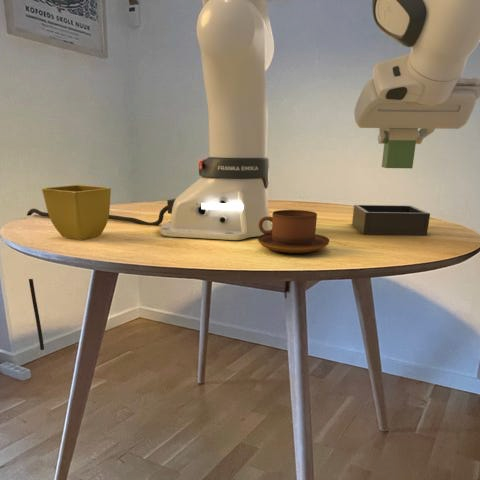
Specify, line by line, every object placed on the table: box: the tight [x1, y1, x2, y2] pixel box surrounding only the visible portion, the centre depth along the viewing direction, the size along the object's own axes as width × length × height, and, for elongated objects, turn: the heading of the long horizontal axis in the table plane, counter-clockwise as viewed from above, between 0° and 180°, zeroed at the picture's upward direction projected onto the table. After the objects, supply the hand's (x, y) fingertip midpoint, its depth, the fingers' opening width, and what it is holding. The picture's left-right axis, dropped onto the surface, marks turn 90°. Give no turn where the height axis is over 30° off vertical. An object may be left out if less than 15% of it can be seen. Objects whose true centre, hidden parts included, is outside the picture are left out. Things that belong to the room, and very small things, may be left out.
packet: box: [381, 128, 419, 169], centre depth 89 cm, size 5×4×9 cm
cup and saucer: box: [257, 209, 330, 254], centre depth 78 cm, size 12×12×6 cm
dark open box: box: [351, 204, 431, 236], centre depth 98 cm, size 13×12×4 cm
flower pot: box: [41, 184, 112, 241], centre depth 86 cm, size 9×9×9 cm
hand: (398, 141), depth 89 cm, fingers closed on packet, 5 cm apart
